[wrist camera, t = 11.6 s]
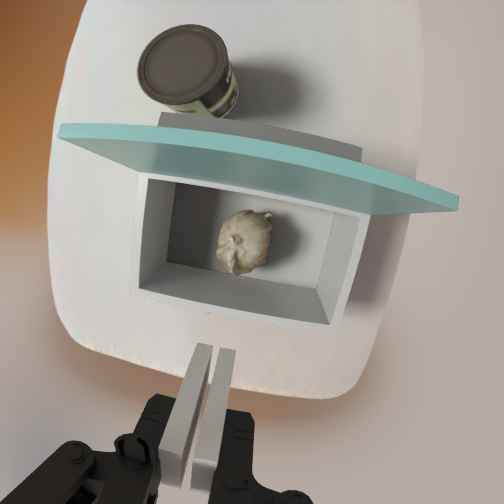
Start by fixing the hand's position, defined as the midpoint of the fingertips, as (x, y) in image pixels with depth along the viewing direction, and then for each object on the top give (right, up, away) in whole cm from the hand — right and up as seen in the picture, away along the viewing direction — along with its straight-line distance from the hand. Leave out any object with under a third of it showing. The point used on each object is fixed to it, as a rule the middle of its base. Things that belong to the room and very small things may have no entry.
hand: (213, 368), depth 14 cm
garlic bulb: (+1, +9, +32) cm, 33 cm away
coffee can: (-5, +30, +26) cm, 40 cm away
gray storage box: (+1, +8, +31) cm, 32 cm away
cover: (+2, +12, +10) cm, 15 cm away
